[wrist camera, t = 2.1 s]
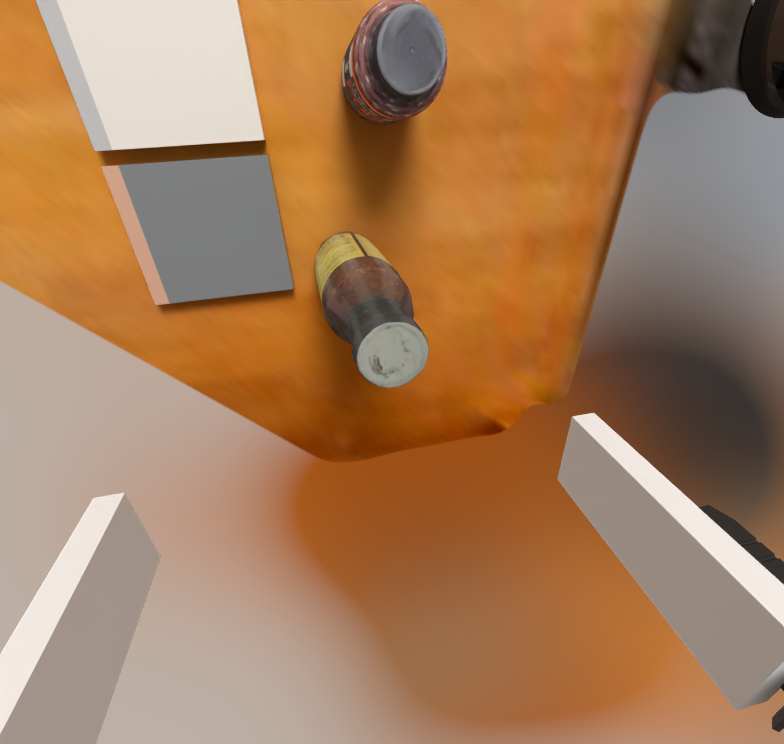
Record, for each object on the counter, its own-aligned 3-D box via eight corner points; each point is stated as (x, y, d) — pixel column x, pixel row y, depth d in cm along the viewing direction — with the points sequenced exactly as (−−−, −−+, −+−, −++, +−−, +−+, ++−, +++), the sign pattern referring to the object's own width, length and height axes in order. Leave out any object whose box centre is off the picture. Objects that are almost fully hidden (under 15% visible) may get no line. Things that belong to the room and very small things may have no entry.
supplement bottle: (328, 98, 31) (338, 76, 21) (360, 12, 28) (387, -58, 19) (394, 139, 33) (430, 136, 23) (428, 62, 31) (484, 23, 21)
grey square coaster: (268, 154, 32) (267, 154, 31) (293, 285, 37) (293, 288, 36) (107, 165, 30) (100, 166, 29) (159, 300, 36) (155, 305, 35)
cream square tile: (227, -54, 26) (224, -63, 25) (265, 140, 31) (264, 139, 30) (23, -54, 24) (11, -62, 23) (102, 151, 30) (94, 151, 29)
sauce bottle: (312, 291, 38) (316, 406, 21) (316, 224, 35) (325, 295, 18) (377, 297, 40) (430, 408, 23) (387, 234, 37) (456, 307, 20)
